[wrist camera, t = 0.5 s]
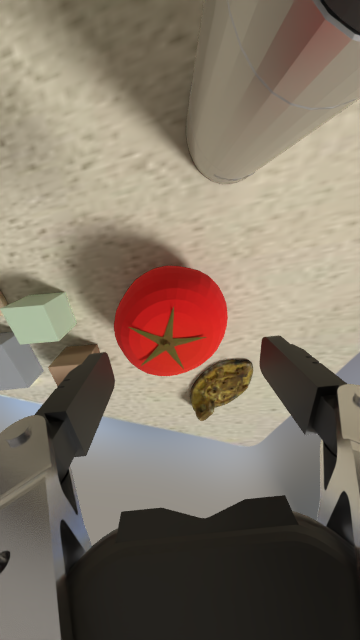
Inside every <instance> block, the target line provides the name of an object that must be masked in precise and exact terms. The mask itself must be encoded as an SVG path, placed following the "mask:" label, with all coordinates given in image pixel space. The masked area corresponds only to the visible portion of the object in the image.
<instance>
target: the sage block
mask: <svg viewBox="0 0 360 640" xmlns="http://www.w3.org/2000/svg"><path fill="white" fill-rule="evenodd" d="M0 310H1V312H2V313H3V315H4V317H5V319H6V321H7V322H8V324H9V326H10V328H11V329H12V331H13V333H14V335H15V337H16V338H17V340H18V342H19V344H20V345H21V344H32V343H44V342H55V341H60V340H61V339H62V338H63V337H64V336H65V335H66V334H67V333H68V332H69V331H70V330H71V329H72V328H73V327H74V326H75V325H76V324H77V322H76V320H75V317H74V314H73V312H72V309H71V306H70V304H69V301H68V298H67V295H66V293H65V292H60V293H48V294H36V295H29V296H26V297H24V298H22V299H20V300H18V301H15V302H13V303H11V304H9V305H7V306H5V307H2V308H0Z"/></svg>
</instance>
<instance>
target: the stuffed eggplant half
mask: <svg viewBox="0 0 360 640" xmlns="http://www.w3.org/2000/svg"><path fill="white" fill-rule="evenodd" d="M252 374H253V366H252V363H251V362H250V361H248V360H247V361H237V360H228V361H223V362H220V363H217V364H215V365H213V366H212V367H210V368H209V369H207V370H206V371H205V372H203V373H202V374H201V375H200V377H199V378H198V379H197V380H196V382H195V383H194V385H193V387H192V389H191V395H190V397H191V403H192V406H193V409H194V411H195V412H196V416H197V418H198V419H199V420H200V421H204V420H206V419H207V418H208V417H209V416H210V415H212V414H213V412H214V408H216V407H219V406H222V405H225V404H227V403H229V402H231V401H232V400H234V399H235V398H237V397H238V396H239V395H241V394H242V393H243V392H244V391H245V390H246V389H247V388H248V385H249V383H250V381H251V378H252Z"/></svg>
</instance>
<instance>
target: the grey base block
mask: <svg viewBox="0 0 360 640" xmlns="http://www.w3.org/2000/svg"><path fill="white" fill-rule="evenodd" d="M43 371H44V370H43V368H42V366H41V365H40V363H39V361H38V359H37V357H36V355H35V354H34V352H33V350H32V348H31V346H30V345H29V344H21V345H20V344H19V342H18V340H17V338H16V337H15V335H14V333H13V332H5V333H0V390H8V389H18V388H28V387H30V386H31V385H32V383H33V382H34V381H35V380H36V379H37V378H38V377H39V376H40V375H41V373H42V372H43Z"/></svg>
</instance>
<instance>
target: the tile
mask: <svg viewBox="0 0 360 640" xmlns="http://www.w3.org/2000/svg"><path fill="white" fill-rule="evenodd" d="M7 305H8V304H7V302H6V300H5V298H4V296H3V294H2V292H1V291H0V308H2V307H5V306H7ZM0 316H4V315H3V313H2V312H1V310H0Z"/></svg>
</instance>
